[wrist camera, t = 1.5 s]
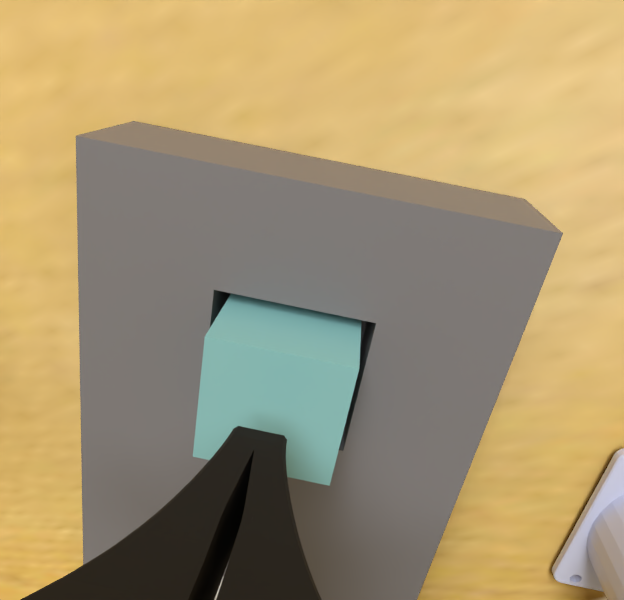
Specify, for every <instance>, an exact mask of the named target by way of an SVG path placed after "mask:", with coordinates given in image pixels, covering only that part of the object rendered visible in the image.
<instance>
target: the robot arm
mask: <svg viewBox="0 0 624 600" xmlns="http://www.w3.org/2000/svg"><path fill="white" fill-rule="evenodd" d="M286 444H287V439H286V438H285V436H284V435H280V434H275V433H270V432H265V431H261V430H256V429H251V428H246V427H241V426H237V427H235V428H234V429H233V430H232V432H231V433H230V435H229V436H228V438H227V439H226V440H225V442H224V443H223V444H222V446H221V447H220V448H219V449H218V451H217V452H216V453H215V454H214V456H213V457H212V458H211V459H210V460H209V461H208V462H207V464H206V465H205V466H204V467H203V468H202V469H201V470H200V471H199V472H198V474H197V475H196V476H195V477H194V478H193V479H192V480H191V481H190V482H189V483H188V484H187V485H186V486H185V487H184V488H183V489H182V490H181V491H180V492H179V493H178V494H177V495H176V496H175V497H174V498H172V499H171V500H170V501H169V502H168V503H167V504H166V505H165V506H164V507H163V508H161V509H160V510H159V511H158V512H157V513H156V514H154V515H153V516H152V517H151V518H150V519H148V520H147V521H146V522H145V523H143V524H142V525H141V526H140V527H138V528H137V529H136V530H134V531H133V532H132V533H130V534H129V535H128V536H126V537H125V538H124V539H122V540H121V541H119V542H118V543H117V544H115V545H114V546H112V547H111V548H109V549H108V550H106V551H105V552H103V553H102V554H100V555H99V556H97V557H95V558H94V559H92V560H91V561H89V562H87V563H86V564H84V565H83V566H81V567H79V568H78V569H76V570H75V571H73V572H71V573H70V574H68V575H66V576H64V577H63V578H61V579H59V580H57V581H55V582H53V583H51V584H49V585H47V586H46V587H44V588H42V589H40V590H38V591H36V592H34V593H32V594H30V595H29V596H27V597H25V598H23V599H21V600H214V599H215V597H216V594H217V591H218V588H219V586H220V583H221V580H222V578H223V575H224V572H225V575H224V578H223V581H222V584H221V587H220V590H219V593H218V596H217V599H216V600H322V599H321V597H320V595H319V592H318V590H317V588H316V585H315V583H314V580H313V578H312V575H311V572H310V569H309V567H308V564H307V561H306V558H305V555H304V551H303V548H302V545H301V542H300V538H299V534H298V531H297V527H296V522H295V518H294V514H293V509H292V504H291V499H290V492H289V486H288V479H287V469H286ZM228 561H229V562H228ZM227 564H228V565H227ZM226 567H227V568H226ZM225 570H226V571H225ZM552 573H553V576H554V579H555V580H556V581H558V582H561V583H565V584H570V585H574V586H579V587H584V588H588V589H593V590H598V591H602V592H604V593H605V596H606V598H607V600H624V448H623V449H620V450H618V451H617V452H616V453H615V454H614V456H613V457H612V459H611V461H610V463H609V465H608V466H607V468H606V470H605V472H604V474H603V476H602V477H601V479H600V481H599V483H598V485H597V487H596V488H595V490H594V492H593V494H592V496H591V498H590V499H589V501H588V503H587V505H586V507H585V509H584V510H583V512H582V514H581V516H580V518H579V520H578V521H577V523H576V525H575V527H574V529H573V530H572V532H571V534H570V536H569V538H568V540H567V541H566V543H565V545H564V547H563V549H562V551H561V552H560V554H559V556H558V558H557V560H556V562H555V563H554V565H553V567H552Z"/></svg>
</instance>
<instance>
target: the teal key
mask: <svg viewBox="0 0 624 600" xmlns="http://www.w3.org/2000/svg"><path fill="white" fill-rule="evenodd" d="M361 321H362V320H358V319H353V318H348V317H343V316H339V315H334V314H329V313H324V312H319V311H314V310H310V309H305V308H300V307H295V306H290V305H285V304H280V303H276V302H271V301H266V300H261V299H256V298H251V297H246V296H242V295H237V294H232V293H231V295H230V296H229V298H228V299H227V301H226V303H225V304H224V306H223V308H222V309H221V311H220V312H219V314H218V316H217V317H216V319H215V321H214V322H213V324H212V326H211V327H210V329H209V330H208V332H207V334H206V335H205V339H204V349H203V359H202V369H201V379H200V389H199V399H198V409H197V419H196V429H195V439H194V449H193V457H197V458H202V459H206V460H210V459H211V458H212V457H213V456H214V454H215V453H216V452H217V451H218V449H219V448H220V447H221V446H222V444H223V443H224V442H225V440H226V439H227V438H228V436H229V435H230V433H231V432H232V430H233V429H234V428H235V427H237V426H241V427H246V428H251V429H256V430H261V431H265V432H270V433H275V434H280V435H284V436H285V438H286V439H287V444H286V469H287V477H291V478H295V479H300V480H305V481H309V482H314V483H319V484H323V485H328V486H330V482H331V478H332V474H333V471H334V467H335V463H336V459H337V455H338V451H339V447H340V443H341V439H342V435H343V431H344V427H345V423H346V419H347V415H348V411H349V408H350V404H351V400H352V396H353V392H354V388H355V384H356V380H357V376H358V372H359V365H360V343H361Z"/></svg>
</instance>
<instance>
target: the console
mask: <svg viewBox="0 0 624 600" xmlns="http://www.w3.org/2000/svg"><path fill="white" fill-rule="evenodd" d="M76 169H77V225H78V282H79V339H80V396H81V453H82V509H83V565H84V564H86V563H87V562H89V561H91V560H92V559H94V558H95V557H97V556H99V555H100V554H102V553H103V552H105V551H106V550H108V549H109V548H111V547H112V546H114V545H115V544H117V543H118V542H119V541H121V540H122V539H124V538H125V537H126V536H128V535H129V534H130V533H132V532H133V531H134V530H136V529H137V528H138V527H140V526H141V525H142V524H143V523H145V522H146V521H147V520H148V519H150V518H151V517H152V516H153V515H154V514H156V513H157V512H158V511H159V510H160V509H161V508H163V507H164V506H165V505H166V504H167V503H168V502H169V501H170V500H171V499H172V498H174V497H175V496H176V495H177V494H178V493H179V492H180V491H181V490H182V489H183V488H184V487H185V486H186V485H187V484H188V483H189V482H190V481H191V480H192V479H193V478H194V477H195V476H196V475H197V474H198V472H199V471H200V470H201V469H202V468H203V467H204V466H205V465H206V464H207V462H208V461H209V460H206V459H202V458H197V457H193V449H194V439H195V429H196V419H197V409H198V399H199V389H200V379H201V369H202V359H203V349H204V339H205V335H206V334H207V332H208V330H209V329H210V327H211V326H212V324H213V322H214V321H215V319H216V317H217V316H218V314H219V312H220V311H221V309H222V308H223V306H224V304H225V303H226V301H227V299H228V298H229V296H230V295H231V293H232V294H237V295H242V296H246V297H251V298H256V299H261V300H266V301H271V302H276V303H280V304H285V305H290V306H295V307H300V308H305V309H310V310H314V311H319V312H324V313H329V314H334V315H339V316H343V317H348V318H353V319H358V320H362V321H361V343H360V365H359V372H358V376H357V380H356V384H355V388H354V392H353V396H352V400H351V404H350V408H349V411H348V415H347V419H346V423H345V427H344V431H343V435H342V439H341V443H340V447H339V451H338V455H337V459H336V463H335V467H334V471H333V474H332V478H331V482H330V486H328V485H323V484H319V483H314V482H309V481H305V480H300V479H295V478H291V477H287V479H288V486H289V492H290V499H291V504H292V509H293V514H294V518H295V522H296V527H297V531H298V534H299V538H300V542H301V545H302V548H303V551H304V555H305V558H306V561H307V564H308V567H309V569H310V572H311V575H312V578H313V580H314V583H315V585H316V588H317V590H318V592H319V595H320V597H321V599H322V600H417V598H418V595H419V593H420V590H421V588H422V585H423V583H424V580H425V578H426V575H427V573H428V570H429V568H430V565H431V563H432V560H433V558H434V555H435V553H436V550H437V548H438V545H439V543H440V540H441V538H442V535H443V533H444V530H445V528H446V525H447V523H448V520H449V518H450V515H451V513H452V510H453V508H454V505H455V503H456V500H457V498H458V495H459V493H460V490H461V488H462V485H463V483H464V480H465V478H466V475H467V473H468V470H469V468H470V465H471V463H472V460H473V458H474V455H475V453H476V450H477V448H478V445H479V443H480V440H481V438H482V435H483V433H484V430H485V427H486V425H487V422H488V420H489V417H490V415H491V412H492V410H493V407H494V405H495V402H496V400H497V397H498V395H499V392H500V390H501V387H502V385H503V382H504V380H505V377H506V375H507V372H508V370H509V367H510V365H511V362H512V360H513V357H514V355H515V352H516V350H517V347H518V345H519V342H520V340H521V337H522V335H523V332H524V330H525V327H526V325H527V322H528V320H529V317H530V315H531V312H532V310H533V307H534V305H535V302H536V300H537V297H538V295H539V292H540V290H541V287H542V285H543V282H544V280H545V277H546V275H547V272H548V270H549V267H550V265H551V262H552V260H553V257H554V255H555V252H556V250H557V247H558V245H559V242H560V240H561V237H562V235H563V233H562V232H561V231H560V230H559V229H557V228H556V227H555V226H554V225H553V224H552V223H551V222H550V221H549V220H548V219H546V218H545V217H544V216H543V215H542V214H541V213H540V212H539V211H538V210H536V209H535V208H534V207H533V206H532V205H531V204H530V203H529V202H528V201H527V200H525V199H521V198H516V197H511V196H506V195H501V194H496V193H491V192H486V191H481V190H476V189H471V188H466V187H461V186H456V185H451V184H446V183H441V182H436V181H431V180H426V179H421V178H416V177H411V176H406V175H401V174H396V173H391V172H386V171H381V170H376V169H371V168H366V167H361V166H356V165H351V164H346V163H341V162H336V161H331V160H326V159H321V158H315V157H310V156H305V155H300V154H295V153H290V152H285V151H280V150H275V149H270V148H265V147H260V146H255V145H250V144H245V143H240V142H235V141H230V140H225V139H220V138H215V137H210V136H205V135H200V134H195V133H190V132H185V131H180V130H175V129H170V128H165V127H160V126H155V125H150V124H145V123H140V122H135V121H133V122H129V123H125V124H121V125H117V126H113V127H109V128H105V129H101V130H97V131H93V132H89V133H85V134H81V135H77V136H76ZM228 562H229V561H228ZM227 565H228V564H227ZM226 568H227V567H226ZM225 571H226V570H225ZM224 575H225V572H224ZM224 575H223V576H224Z"/></svg>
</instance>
